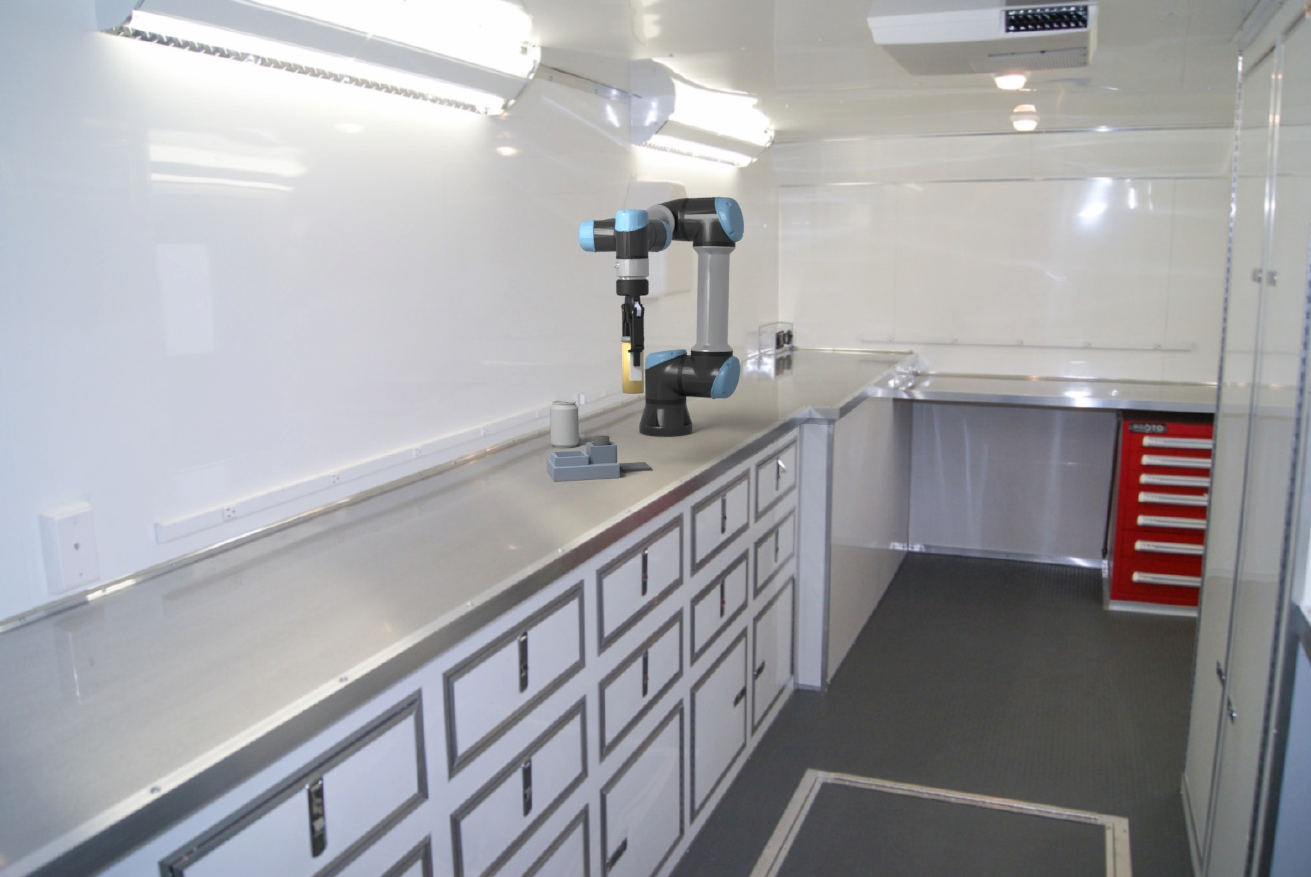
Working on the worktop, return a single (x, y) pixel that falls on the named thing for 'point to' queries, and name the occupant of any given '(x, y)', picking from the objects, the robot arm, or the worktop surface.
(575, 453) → the housing
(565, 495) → the worktop surface
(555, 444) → the can
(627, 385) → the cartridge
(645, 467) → the mat
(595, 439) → the plunger
